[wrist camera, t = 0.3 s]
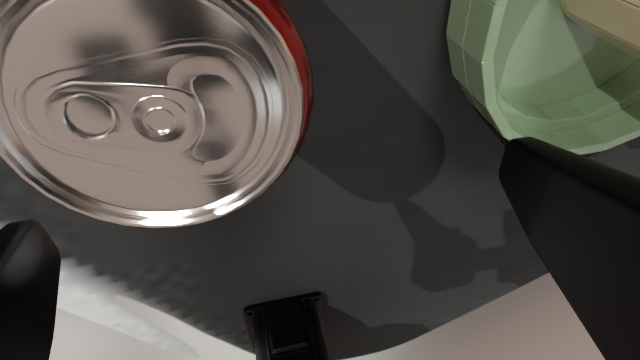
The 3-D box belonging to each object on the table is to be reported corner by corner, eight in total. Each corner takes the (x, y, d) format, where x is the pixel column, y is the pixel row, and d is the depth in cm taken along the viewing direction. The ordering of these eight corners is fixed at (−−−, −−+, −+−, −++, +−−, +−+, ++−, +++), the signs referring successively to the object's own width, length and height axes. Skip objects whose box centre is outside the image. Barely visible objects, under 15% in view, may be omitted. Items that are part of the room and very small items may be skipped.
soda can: (278, -99, 17) (361, -17, 8) (250, 67, 21) (283, 241, 12) (77, -158, 15) (-122, -136, 6) (90, 41, 19) (-14, 234, 10)
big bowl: (647, 100, 29) (701, 134, 26) (426, 136, 27) (455, 177, 24) (821, -226, 18) (949, -237, 15) (478, -211, 16) (545, -221, 13)
